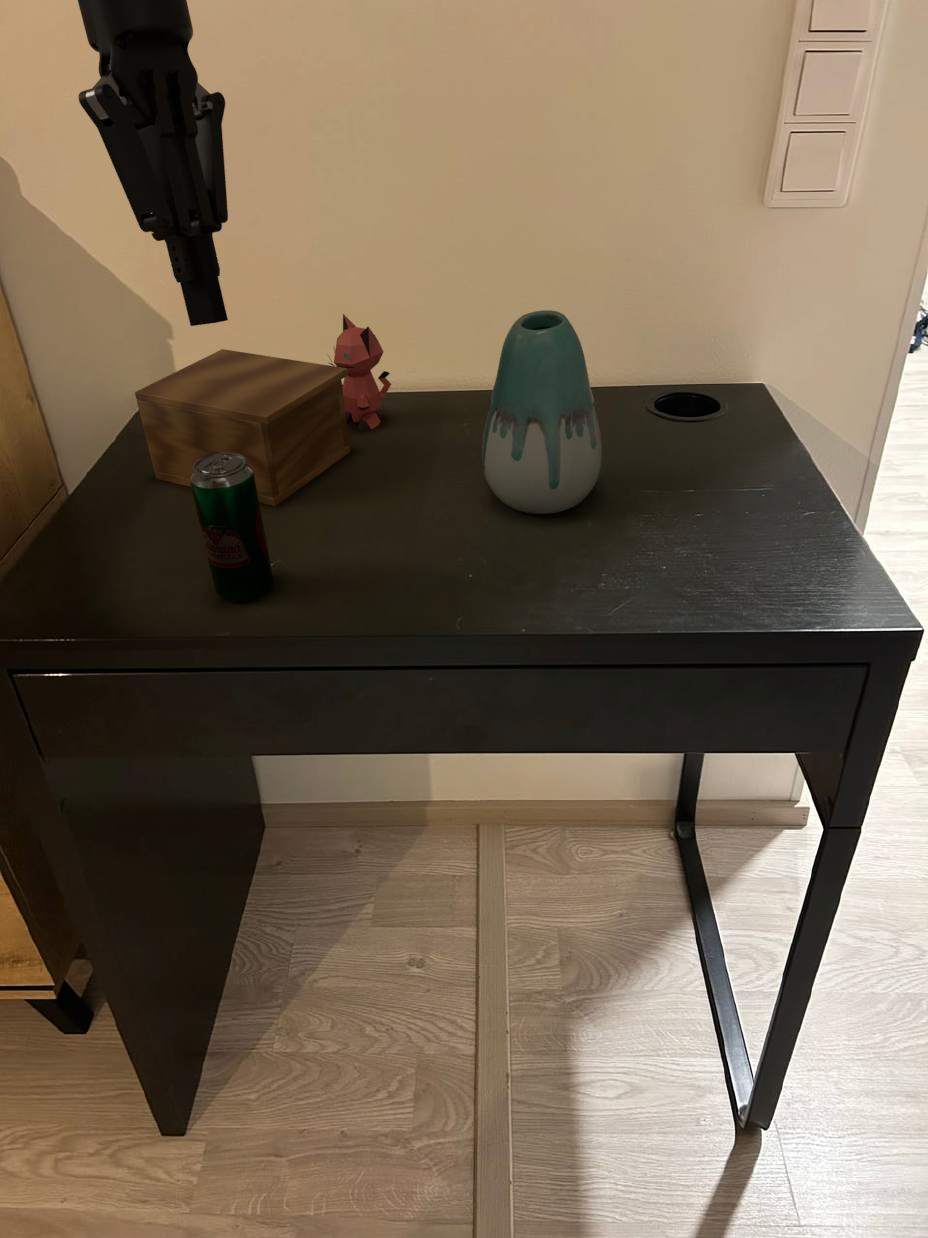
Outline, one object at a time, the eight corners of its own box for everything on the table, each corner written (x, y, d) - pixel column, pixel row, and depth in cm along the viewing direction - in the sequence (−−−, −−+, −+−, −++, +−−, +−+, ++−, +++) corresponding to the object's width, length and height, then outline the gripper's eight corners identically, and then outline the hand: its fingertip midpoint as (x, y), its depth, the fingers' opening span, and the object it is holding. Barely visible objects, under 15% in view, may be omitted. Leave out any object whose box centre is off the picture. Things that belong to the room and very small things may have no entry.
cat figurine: (326, 419, 113) (313, 318, 107) (377, 405, 116) (367, 305, 110) (354, 438, 109) (342, 334, 102) (406, 423, 111) (397, 320, 105)
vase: (512, 537, 88) (509, 347, 78) (465, 486, 97) (457, 310, 87) (622, 511, 92) (633, 325, 82) (567, 464, 101) (571, 291, 91)
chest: (350, 452, 106) (341, 374, 101) (275, 506, 96) (260, 423, 91) (237, 430, 112) (223, 356, 107) (156, 479, 102) (136, 400, 97)
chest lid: (348, 375, 100) (347, 367, 100) (268, 424, 90) (266, 416, 90) (223, 355, 107) (222, 348, 106) (136, 399, 97) (134, 392, 96)
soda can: (204, 599, 82) (174, 472, 75) (236, 569, 86) (211, 446, 79) (254, 609, 80) (228, 481, 74) (285, 579, 84) (263, 454, 77)
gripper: (157, 7, 75) (228, 316, 84) (18, -16, 65) (115, 339, 74) (228, -19, 72) (295, 307, 80) (93, -47, 61) (186, 330, 70)
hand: (209, 322), depth 77 cm, fingers closed
